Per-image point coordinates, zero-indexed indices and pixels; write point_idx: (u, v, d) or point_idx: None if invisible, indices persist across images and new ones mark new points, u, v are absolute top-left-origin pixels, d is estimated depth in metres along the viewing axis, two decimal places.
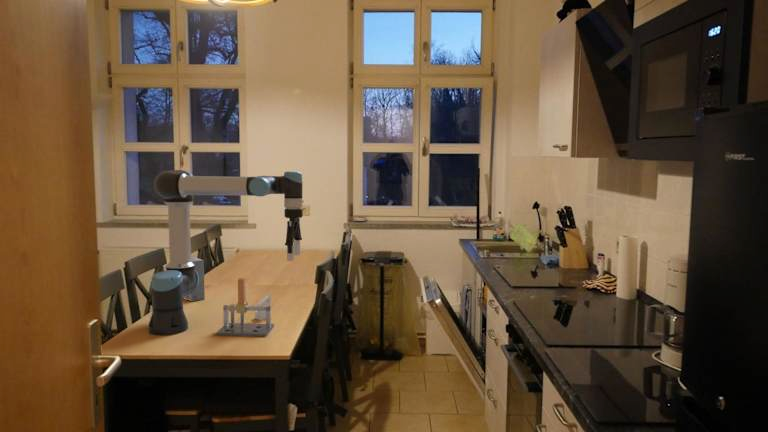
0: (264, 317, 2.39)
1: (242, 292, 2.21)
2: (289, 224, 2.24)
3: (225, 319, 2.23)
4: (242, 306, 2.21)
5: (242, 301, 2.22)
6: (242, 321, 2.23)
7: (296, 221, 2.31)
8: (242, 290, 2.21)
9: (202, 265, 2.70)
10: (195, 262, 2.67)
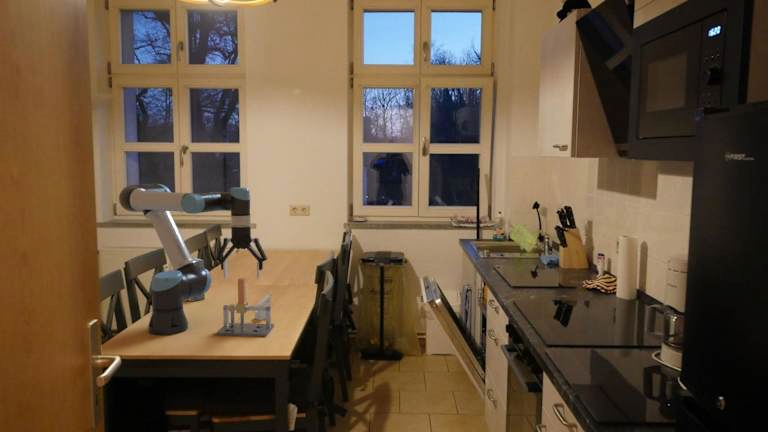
0: (264, 317, 2.39)
1: (242, 292, 2.21)
2: None
3: (225, 319, 2.23)
4: (242, 306, 2.21)
5: (242, 301, 2.22)
6: (242, 321, 2.23)
7: (242, 240, 2.19)
8: (242, 290, 2.21)
9: (202, 265, 2.70)
10: None
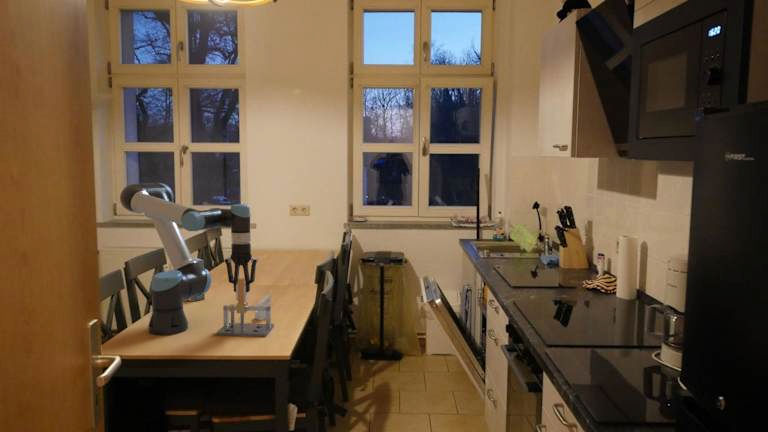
0: (264, 317, 2.39)
1: (242, 292, 2.21)
2: None
3: (225, 319, 2.23)
4: (242, 306, 2.21)
5: (242, 301, 2.22)
6: (242, 321, 2.23)
7: (243, 253, 2.20)
8: (242, 290, 2.21)
9: (202, 265, 2.70)
10: None
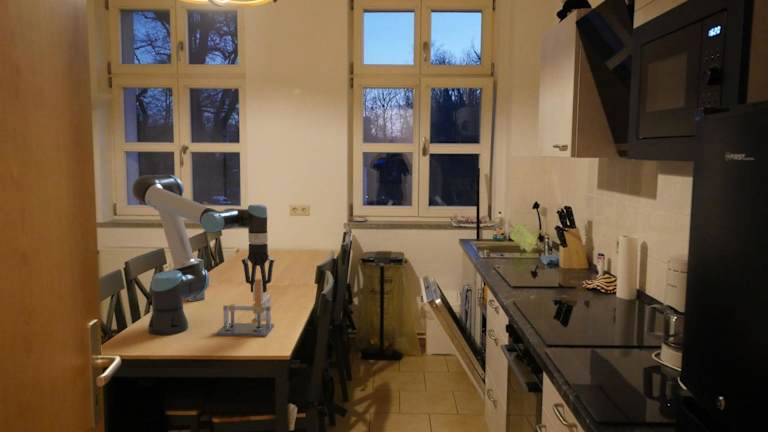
0: (264, 317, 2.39)
1: (259, 292, 2.21)
2: None
3: (225, 319, 2.23)
4: (259, 306, 2.21)
5: (259, 301, 2.22)
6: (259, 321, 2.23)
7: (260, 254, 2.20)
8: (259, 290, 2.21)
9: (202, 265, 2.70)
10: None
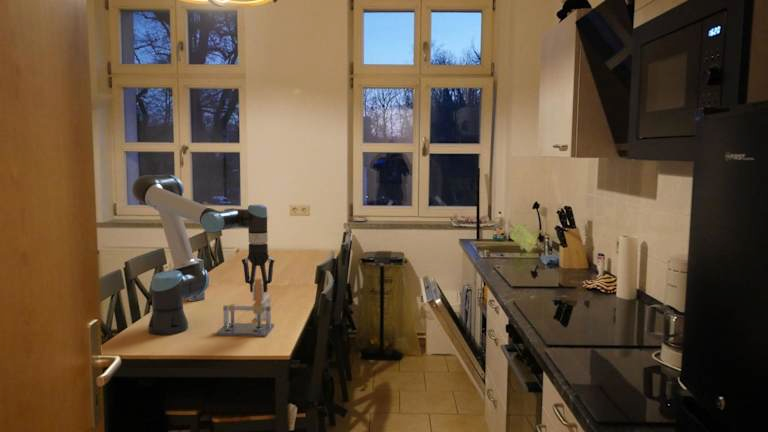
0: (264, 317, 2.39)
1: (259, 292, 2.21)
2: None
3: (225, 319, 2.23)
4: (259, 306, 2.21)
5: (259, 301, 2.21)
6: (259, 321, 2.23)
7: (260, 254, 2.20)
8: (259, 290, 2.21)
9: (202, 265, 2.70)
10: None
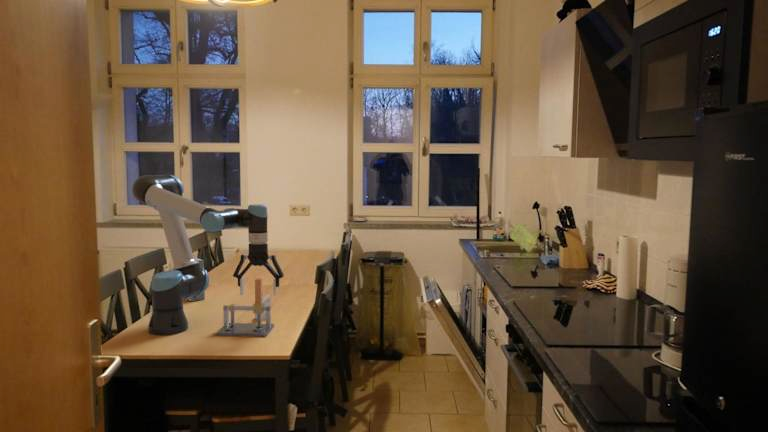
0: (264, 317, 2.39)
1: (259, 292, 2.21)
2: None
3: (225, 319, 2.23)
4: (259, 306, 2.21)
5: (259, 301, 2.21)
6: (259, 321, 2.23)
7: (259, 257, 2.20)
8: (259, 290, 2.21)
9: (202, 265, 2.70)
10: None
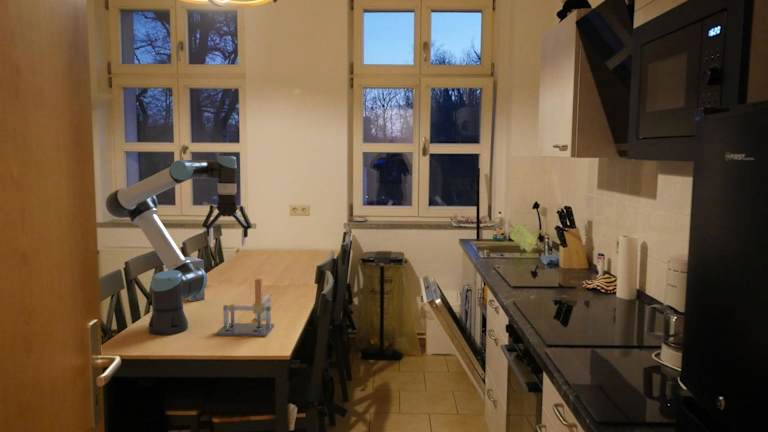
0: (264, 317, 2.39)
1: (259, 292, 2.21)
2: None
3: (225, 319, 2.23)
4: (259, 306, 2.21)
5: (259, 301, 2.21)
6: (259, 321, 2.23)
7: (227, 207, 2.24)
8: (259, 290, 2.21)
9: (202, 265, 2.70)
10: (195, 262, 2.67)
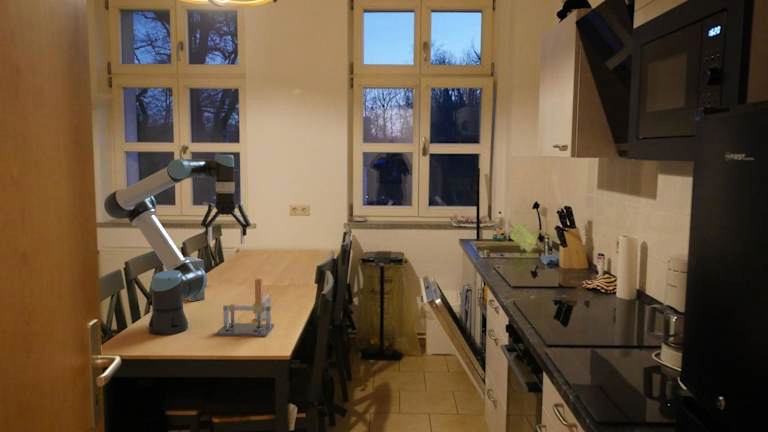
0: (264, 317, 2.39)
1: (259, 292, 2.21)
2: None
3: (225, 319, 2.23)
4: (259, 306, 2.21)
5: (259, 301, 2.21)
6: (259, 321, 2.23)
7: (226, 206, 2.24)
8: (259, 290, 2.21)
9: (202, 265, 2.70)
10: (195, 262, 2.67)
